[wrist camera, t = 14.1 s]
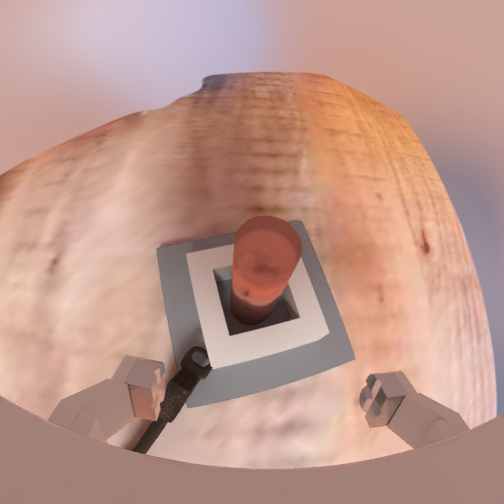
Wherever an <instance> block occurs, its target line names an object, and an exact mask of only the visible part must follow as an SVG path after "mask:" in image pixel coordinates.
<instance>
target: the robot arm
mask: <svg viewBox="0 0 504 504" xmlns="http://www.w3.org/2000/svg"><path fill="white" fill-rule="evenodd" d="M164 371H165V367H164V363H163V362H159V361H154V360H149V359H145V358H140V357H135V356H131V355H126V356H124V358H123V360H122V361H121V363H120V365H119V366H118V368H117V370H116V371H115V373H114V375H113V377H112V378H111V380H109V379H106V380H104V381H102V382H100V383H98V384H96V385H94V386H91V387H89V388H87V389H85V390H83V391H80V392H78V393H76V394H74V395H71V396H69V397H67V398H65V399H62V400H61V401H60V402H59V404H58V405H57V407H56V408H55V410H54V411H53V413H52V414H51V416H50V417H49V419H48V420H45V419H43V418H41V417H39V416H37V415H35V414H33V413H31V412H29V411H27V410H25V409H23V408H22V407H20V406H18V405H16V404H14V403H13V402H11V401H9V400H7V399H6V398H4V397H2V396H1V395H0V504H504V413H503V414H501V415H500V416H498V417H496V418H494V419H492V420H490V421H488V422H485V423H483V424H481V425H479V426H477V427H474V428H472V429H469V428H468V426H467V425H466V423H465V422H464V420H463V419H462V418H461V416H460V415H459V413H457V412H455V411H453V410H451V409H449V408H447V407H445V406H443V405H442V404H440V403H438V402H436V401H434V400H432V399H430V398H428V397H427V396H425V395H423V394H421V393H417V392H416V390H415V389H414V388H413V386H412V385H411V383H410V382H409V380H408V379H407V377H406V376H405V375H404V373H403V372H401V371H395V372H388V373H376V374H370V375H369V376H368V378H367V380H366V382H367V386H365V387H364V388H363V389H362V391H361V394H360V400H359V401H360V406H361V408H362V410H363V411H365V412H366V413H367V414H366V416H365V418H366V420H367V422H368V424H369V427H370V428H372V427H380V426H387V427H388V428H389V429H391V430H392V431H393V432H394V433H395V434H397V435H398V436H399V437H400V438H401V439H403V440H404V441H405V442H406V443H408V444H409V445H410V446H411V447H413V448H414V449H413V450H409V451H406V452H402V453H398V454H394V455H390V456H385V457H381V458H376V459H371V460H365V461H360V462H354V463H347V464H340V465H332V466H322V467H311V468H294V469H247V468H230V467H218V466H209V465H200V464H193V463H186V462H180V461H174V460H169V459H164V458H159V457H154V456H150V455H145V454H141V453H137V452H133V451H130V450H126V449H122V448H119V447H116V446H112V445H109V444H108V443H107V439H108V438H110V437H111V436H112V435H114V434H115V433H116V432H118V431H119V430H120V429H122V428H123V427H124V426H126V425H127V424H128V423H130V422H131V421H132V420H134V419H135V417H137V418H142V419H147V420H152V421H157V418H158V415H159V412H160V403H161V402H162V401H163V399H164V396H165V390H166V379H165V378H164V377H163V374H164Z"/></svg>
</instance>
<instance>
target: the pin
mask: <svg viewBox="0 0 504 504" xmlns="http://www.w3.org/2000/svg"><path fill="white" fill-rule="evenodd" d="M301 255H302V242H301V239H300V236H299V234H298V233H297V231H296V230H295V229H294V228H293V227H292V226H291V225H290V224H289V223H287V222H285V221H284V220H281V219H279V218H276V217H271V216H260V217H255V218H252V219H250V220H248V221H246V222H245V223H244V224H243V225H242V226H241V227H240V228H239V229H238V231H237V233H236V235H235V240H234V253H233V267H232V281H231V296H230V308H231V312H232V314H233V315H234V317H235V318H236V319H237V320H238V321H240V322H242V323H244V324H248V325H256V324H260V323H262V322H264V321H265V320H266V319H268V317H269V316H270V314H271V313H272V311H273V309H274V307H275V305H276V303H277V302H278V300H279V298H280V296H281V294H282V292H283V290H284V289H285V287H286V285H287V283H288V281H289V279H290V277H291V275H292V273H293V272H294V270H295V268H296V266H297V264H298V262H299V260H300V258H301Z"/></svg>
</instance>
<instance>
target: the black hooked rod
mask: <svg viewBox="0 0 504 504" xmlns="http://www.w3.org/2000/svg"><path fill="white" fill-rule="evenodd" d="M195 352H199V353H202V354H203V355H205V356H206V357H207V358H208V360H209V357H208V353H207V351H206V350H205V349H204V348H202V347H199V346H195V347H192V348H191V349H189V351H188V352H187V353H186V355H185V356H184V357H183V359H182V361H181V363H180V366H181V369H180V370H179V372H178V373H177V374H176V375H175V376H174V377H173V378H172V379H171V380H170V382H169V384H168V385H167V387H166V390H165V396H164V399H163V401H162V402H161V403H160V412H159V415H158V418H157V421H152V423H151V424H150V426H149V427H148V429H147V430H146V432H145V433H144V435H143V436H142V438H141V439H140V441H139V442H138V443H137V445H136V446H135V448H134V449H133V450H132V451H133V452H137V453H141V454H146V453H147V451H148V450H149V448H150V447H151V446H152V444H153V443H154V442H155V440H156V439H157V437H158V436H159V435H160V433H161V432H162V430H163V429H164V427H165V426H166V424H167V423H168V422H169V423H171V422H172V421H173V420H174V419H175V418H176V416H177V415H178V413H179V412H180V410H181V408H182V407H183V405H184V404H185V402H186V401H187V399H188V397H189V396H190V395H191V393H192V392H193V390H194V389H195V387H196V386H197V384H198V382H199V381H200V380H204V379H205V378H206V377H207V376H208V374H209V373H210V371H211V370H212V368H213V367H211V365H210V361H209V364H208V365H207V366H204V367H202V366H200V365H198V364H197V363H195V362H194V361H193V360H192V354H193V353H195Z"/></svg>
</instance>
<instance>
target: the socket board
mask: <svg viewBox="0 0 504 504" xmlns="http://www.w3.org/2000/svg"><path fill="white" fill-rule="evenodd" d="M289 224H290V225H291V226H292V227H293V228H294V229H295V230H296V231H297V233H298V234H299V236H300V239H301V242H302V255H301V258H300V260H299V262H298V264H297V266H296V268H295V270H294V272H293V273H292V275H291V277H290V279H289V281H288V283H287V285H286V287H285V289H284V290H283V292H282V294H281V296H280V298H279V300H278V302H277V303H276V305H275V307H274V309H273V311H272V313H271V314H270V316H269V317H268V319H266V320H265V321H264V322H262V323H260V324H256V325H248V324H244V323H242V322H240V321H238V320H237V319H236V318H235V317H234V315H233V314H232V312H231V308H230V296H231V281H232V267H233V253H234V240H235V235H236V233H237V232H236V233H231V234H226V235H220V236H215V237H210V238H205V239H200V240H195V241H190V242H185V243H180V244H175V245H170V246H165V247H160V248H157V256H158V264H159V271H160V278H161V285H162V291H163V297H164V303H165V309H166V315H167V320H168V326H169V331H170V336H171V341H172V346H173V350H174V355H175V360H176V364H177V368H178V372H179V370H180V369H181V366H180V363H181V361H182V359H183V357H184V356H185V355H186V353H187V352H188V351H189V349H191V348H192V347H195V346H199V347H202V348H204V349H205V350H206V351H207V353H208V357H209V360H208V358H207V357H206V356H205V355H203V354H202V353H199V352H195V353H193V354H192V360H193V361H194V362H195V363H197V364H198V365H200V366H202V367H204V366H207V365H208V364H209V361H210V365H211V367H213V368H212V370H211V371H210V373H209V374H208V376H207V377H206V378H205V379H204V380H200V381H199V382H198V384H197V386H196V387H195V389H194V390H193V392H192V393H191V395H190V396H189V397H188V399H187V401H186V404H187V408H192V407H198V406H203V405H208V404H213V403H217V402H222V401H226V400H230V399H235V398H239V397H243V396H247V395H250V394H254V393H258V392H261V391H265V390H268V389H272V388H275V387H279V386H282V385H285V384H288V383H291V382H295V381H298V380H301V379H304V378H307V377H309V376H312V375H315V374H318V373H321V372H323V371H326V370H329V369H331V368H334V367H337V366H339V365H342V364H344V363H347V362H349V361H352V360H354V359H356V358H355V355H354V352H353V350H352V347H351V344H350V341H349V338H348V335H347V333H346V330H345V327H344V324H343V322H342V319H341V316H340V314H339V311H338V308H337V306H336V303H335V301H334V298H333V295H332V293H331V290H330V288H329V285H328V283H327V280H326V278H325V275H324V273H323V270H322V268H321V265H320V263H319V261H318V258H317V256H316V253H315V251H314V249H313V246H312V244H311V242H310V239H309V237H308V235H307V232H306V230H305V228H304V225H303V223H302V221H297V222H291V223H289Z"/></svg>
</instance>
